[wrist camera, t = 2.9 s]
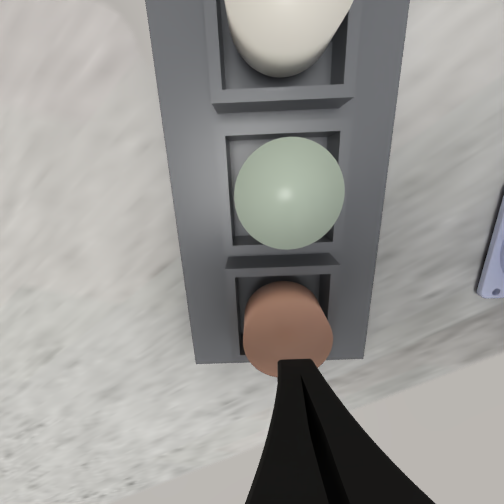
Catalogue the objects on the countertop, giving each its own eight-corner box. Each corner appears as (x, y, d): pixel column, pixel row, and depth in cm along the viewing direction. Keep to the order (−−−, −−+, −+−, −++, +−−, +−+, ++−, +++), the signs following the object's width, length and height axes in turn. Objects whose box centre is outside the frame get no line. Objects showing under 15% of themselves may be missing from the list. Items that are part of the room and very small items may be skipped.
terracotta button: (321, 279, 14) (336, 301, 11) (318, 345, 15) (330, 376, 13) (242, 282, 14) (240, 304, 11) (246, 347, 15) (245, 379, 13)
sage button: (329, 141, 11) (349, 133, 9) (324, 233, 13) (340, 247, 10) (234, 145, 11) (230, 139, 9) (240, 236, 13) (237, 251, 10)
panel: (403, -86, 11) (467, -193, 8) (354, 344, 19) (377, 381, 16) (145, -72, 11) (101, -171, 8) (200, 349, 19) (189, 387, 16)
